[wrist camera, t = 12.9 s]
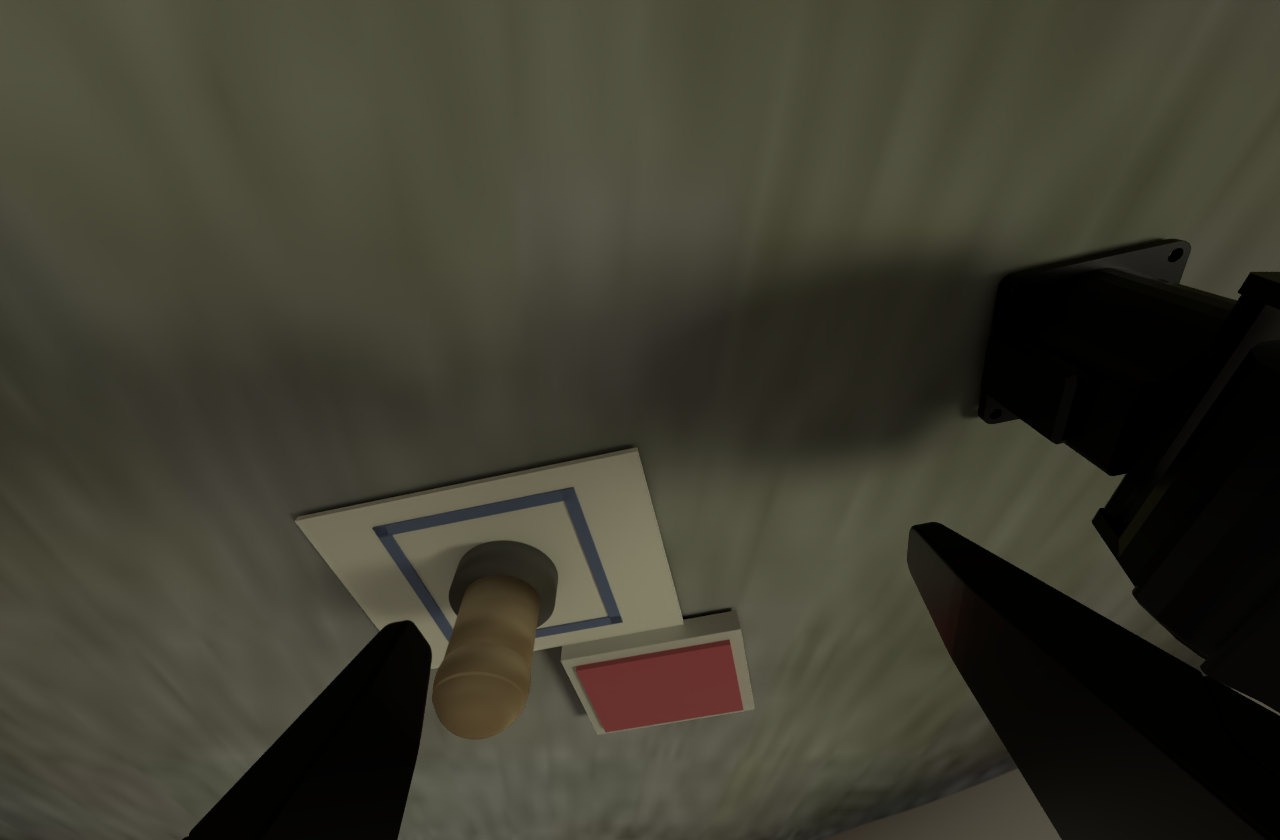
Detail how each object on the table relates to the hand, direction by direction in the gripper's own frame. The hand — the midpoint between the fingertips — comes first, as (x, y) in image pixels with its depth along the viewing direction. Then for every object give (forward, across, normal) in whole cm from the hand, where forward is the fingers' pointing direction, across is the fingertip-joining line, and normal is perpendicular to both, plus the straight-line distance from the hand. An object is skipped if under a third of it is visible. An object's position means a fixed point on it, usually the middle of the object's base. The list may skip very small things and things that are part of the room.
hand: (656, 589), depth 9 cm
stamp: (+12, +9, +11) cm, 18 cm away
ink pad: (+12, +3, +21) cm, 24 cm away
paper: (+12, +9, +11) cm, 19 cm away
